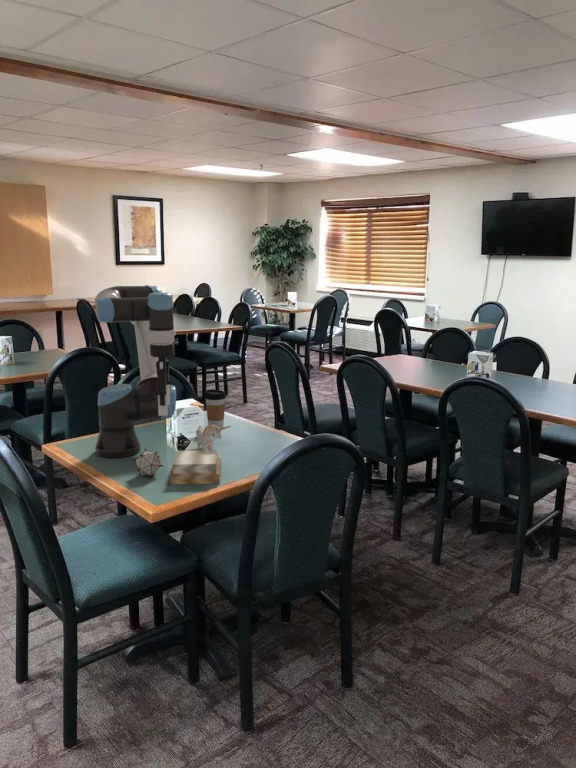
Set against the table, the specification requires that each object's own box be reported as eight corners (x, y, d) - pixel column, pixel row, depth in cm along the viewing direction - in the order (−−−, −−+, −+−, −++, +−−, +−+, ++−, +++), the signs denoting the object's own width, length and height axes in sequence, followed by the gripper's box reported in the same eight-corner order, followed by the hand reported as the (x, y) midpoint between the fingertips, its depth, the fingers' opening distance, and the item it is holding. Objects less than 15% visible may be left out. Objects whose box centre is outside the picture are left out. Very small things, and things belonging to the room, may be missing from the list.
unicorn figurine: (213, 468, 201) (212, 429, 199) (184, 453, 217) (183, 416, 214) (232, 464, 206) (231, 425, 203) (202, 449, 221) (202, 413, 218)
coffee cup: (210, 424, 252) (209, 388, 249) (229, 425, 250) (229, 389, 247) (201, 429, 245) (201, 392, 241) (222, 431, 242) (221, 394, 239)
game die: (145, 484, 197) (139, 455, 201) (169, 476, 196) (163, 446, 200) (132, 480, 189) (126, 449, 193) (157, 471, 188) (151, 440, 192)
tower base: (169, 484, 188) (169, 465, 186) (174, 467, 202) (174, 449, 201) (219, 483, 189) (219, 464, 187) (221, 466, 203) (220, 449, 202)
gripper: (172, 349, 180) (174, 419, 185) (176, 337, 204) (178, 400, 209) (146, 349, 179) (149, 420, 184) (153, 337, 204) (155, 400, 208)
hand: (164, 409), depth 196 cm, fingers open, 13 cm apart
